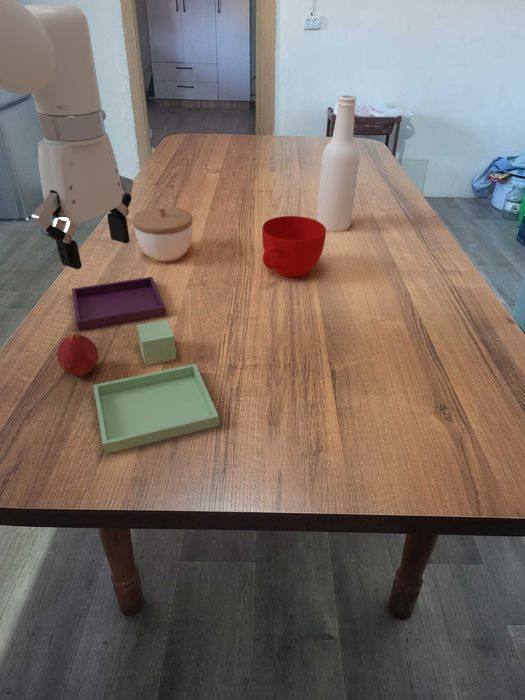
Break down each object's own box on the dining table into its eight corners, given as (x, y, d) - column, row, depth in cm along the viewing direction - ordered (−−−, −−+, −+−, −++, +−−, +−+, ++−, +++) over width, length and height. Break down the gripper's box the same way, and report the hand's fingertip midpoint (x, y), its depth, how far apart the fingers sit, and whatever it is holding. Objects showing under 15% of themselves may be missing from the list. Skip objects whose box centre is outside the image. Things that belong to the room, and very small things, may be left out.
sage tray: (105, 456, 63) (102, 444, 62) (95, 396, 72) (93, 384, 71) (219, 428, 68) (218, 416, 66) (196, 375, 77) (195, 363, 75)
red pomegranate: (54, 380, 75) (41, 337, 70) (79, 359, 79) (68, 317, 74) (86, 390, 73) (75, 347, 68) (109, 368, 78) (100, 326, 73)
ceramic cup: (238, 282, 101) (237, 236, 95) (282, 253, 113) (284, 211, 107) (291, 301, 96) (294, 254, 90) (332, 269, 107) (337, 225, 101)
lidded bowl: (200, 246, 114) (198, 200, 108) (186, 271, 104) (182, 221, 98) (148, 242, 116) (143, 195, 109) (129, 266, 106) (121, 216, 99)
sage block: (145, 367, 78) (142, 342, 75) (140, 350, 82) (136, 325, 79) (176, 361, 79) (174, 336, 76) (170, 344, 83) (167, 319, 80)
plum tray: (79, 333, 85) (76, 321, 84) (74, 299, 94) (71, 288, 93) (166, 317, 90) (165, 307, 88) (153, 286, 99) (152, 276, 98)
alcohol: (326, 235, 122) (340, 101, 104) (309, 222, 128) (320, 94, 110) (356, 230, 125) (375, 99, 107) (338, 217, 131) (353, 92, 113)
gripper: (100, 110, 68) (118, 227, 79) (-9, 136, 56) (30, 270, 66) (142, 117, 66) (156, 237, 76) (37, 145, 53) (71, 284, 64)
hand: (97, 253), depth 71 cm, fingers open, 9 cm apart
